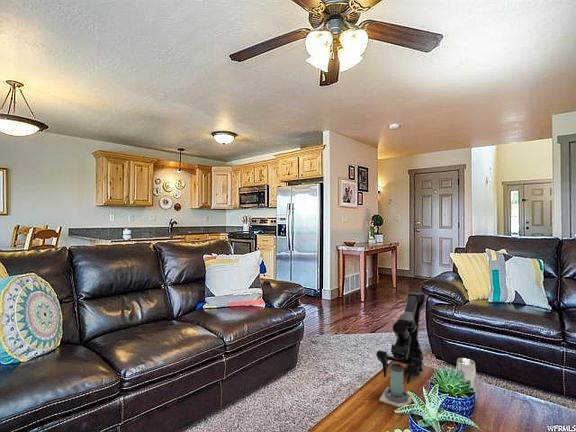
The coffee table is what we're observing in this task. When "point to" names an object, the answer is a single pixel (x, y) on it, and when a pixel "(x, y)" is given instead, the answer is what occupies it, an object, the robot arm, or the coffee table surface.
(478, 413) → the coffee table surface
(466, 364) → the beer glass
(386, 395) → the mount plate
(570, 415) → the coffee table surface
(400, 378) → the teal cylinder
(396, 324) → the robot arm
